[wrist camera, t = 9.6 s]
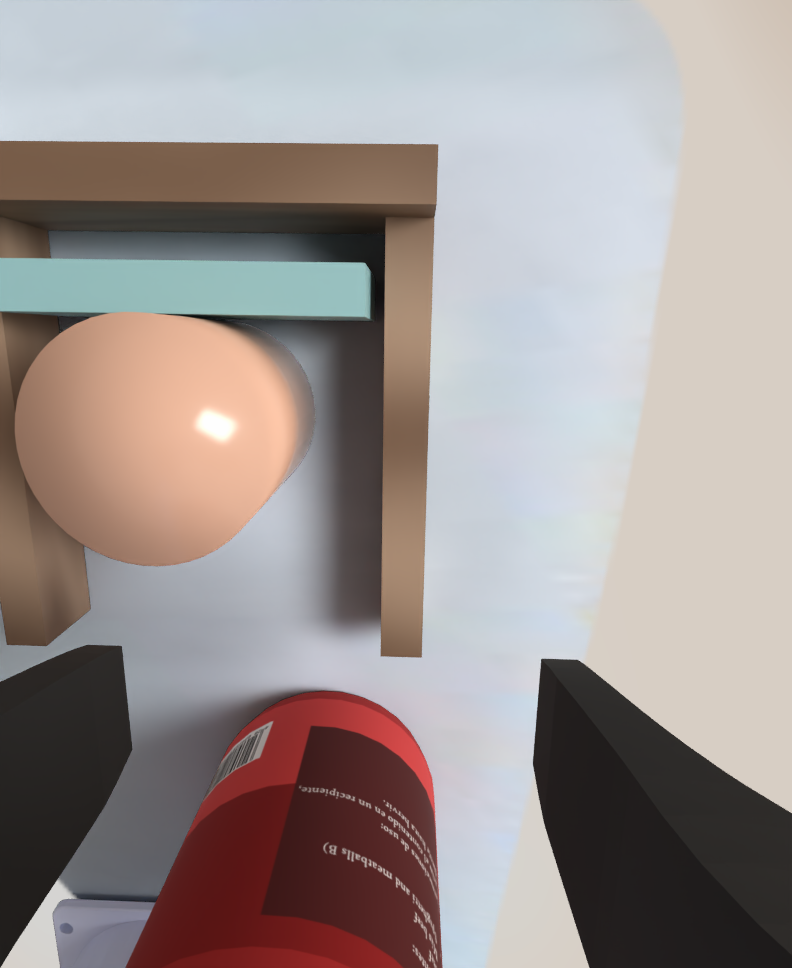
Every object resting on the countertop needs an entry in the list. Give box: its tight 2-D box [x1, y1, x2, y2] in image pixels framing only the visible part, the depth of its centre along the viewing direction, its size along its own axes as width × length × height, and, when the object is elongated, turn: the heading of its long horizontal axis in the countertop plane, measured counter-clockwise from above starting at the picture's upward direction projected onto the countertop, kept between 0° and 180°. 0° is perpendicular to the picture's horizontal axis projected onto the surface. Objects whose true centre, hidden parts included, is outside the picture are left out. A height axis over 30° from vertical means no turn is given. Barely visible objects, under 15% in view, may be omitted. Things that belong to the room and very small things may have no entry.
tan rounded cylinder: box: [15, 312, 315, 566], centre depth 16 cm, size 6×6×6 cm
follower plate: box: [0, 258, 375, 321], centre depth 16 cm, size 1×9×4 cm, turn 89°
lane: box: [0, 141, 438, 657], centre depth 17 cm, size 13×12×4 cm
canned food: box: [125, 691, 442, 968], centre depth 16 cm, size 8×8×11 cm
